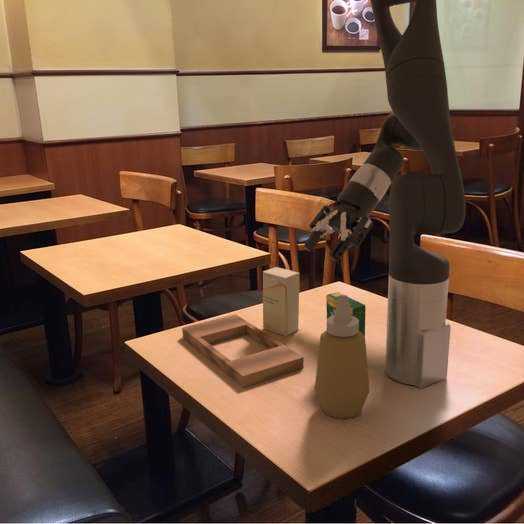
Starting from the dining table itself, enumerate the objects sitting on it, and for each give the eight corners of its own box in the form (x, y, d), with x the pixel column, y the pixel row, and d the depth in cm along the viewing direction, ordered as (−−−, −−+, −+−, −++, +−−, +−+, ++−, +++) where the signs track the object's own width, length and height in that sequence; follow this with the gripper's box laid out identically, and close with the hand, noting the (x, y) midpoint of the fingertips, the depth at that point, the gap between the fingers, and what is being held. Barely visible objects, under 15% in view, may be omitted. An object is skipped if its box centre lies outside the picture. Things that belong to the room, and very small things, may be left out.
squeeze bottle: (336, 389, 92) (337, 283, 86) (379, 407, 86) (383, 294, 81) (303, 410, 86) (302, 297, 81) (347, 430, 81) (349, 311, 75)
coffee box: (324, 363, 100) (325, 293, 96) (338, 359, 101) (339, 290, 98) (350, 383, 93) (352, 308, 90) (365, 379, 94) (367, 305, 91)
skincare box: (262, 328, 116) (260, 271, 112) (277, 322, 119) (275, 266, 115) (286, 336, 111) (285, 277, 108) (300, 329, 115) (300, 271, 111)
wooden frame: (303, 367, 99) (303, 357, 98) (243, 387, 93) (243, 376, 92) (236, 323, 119) (235, 314, 118) (182, 337, 113) (182, 327, 112)
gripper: (332, 175, 122) (288, 236, 119) (378, 184, 110) (331, 251, 108) (351, 197, 126) (309, 256, 124) (398, 207, 114) (352, 272, 112)
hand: (319, 253), depth 116 cm, fingers open, 8 cm apart
